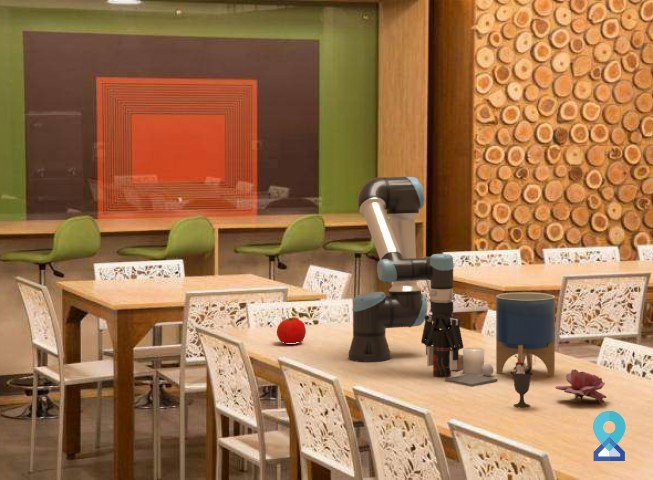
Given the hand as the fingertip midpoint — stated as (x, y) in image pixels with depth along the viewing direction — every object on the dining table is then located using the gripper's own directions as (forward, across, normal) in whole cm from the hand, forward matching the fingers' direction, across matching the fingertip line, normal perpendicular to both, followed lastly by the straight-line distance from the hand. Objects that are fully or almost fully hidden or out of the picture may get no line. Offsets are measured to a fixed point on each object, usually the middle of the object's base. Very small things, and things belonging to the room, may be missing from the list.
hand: (442, 367), depth 415 cm
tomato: (+3, -83, +2) cm, 83 cm away
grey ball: (+3, +11, +10) cm, 15 cm away
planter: (+3, +18, +21) cm, 28 cm away
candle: (+3, +4, +11) cm, 12 cm away
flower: (+3, +57, +1) cm, 57 cm away
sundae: (+3, +48, -16) cm, 51 cm away
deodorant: (+3, 0, 0) cm, 3 cm away
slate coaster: (+3, +13, 0) cm, 13 cm away
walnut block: (+3, -4, +10) cm, 11 cm away
